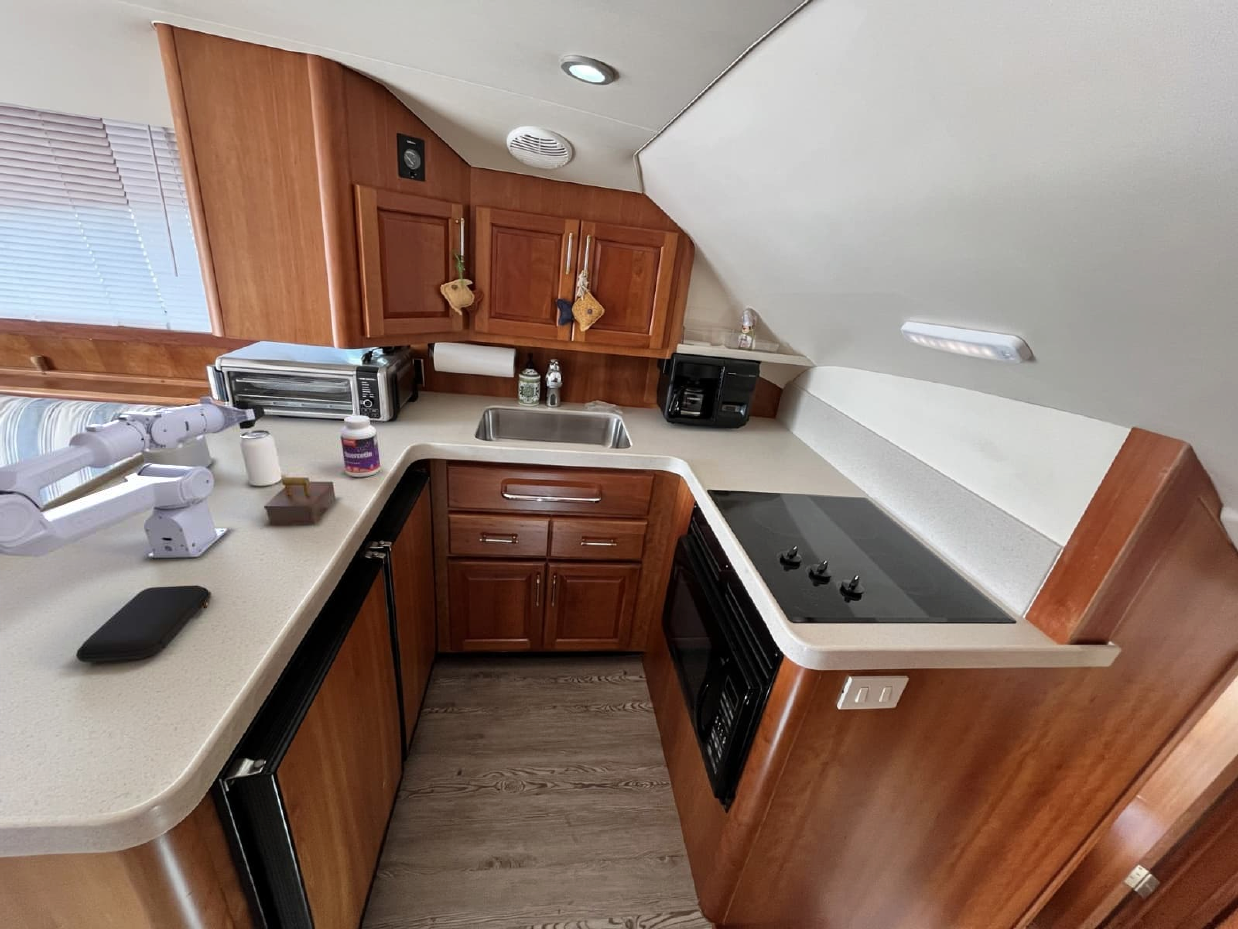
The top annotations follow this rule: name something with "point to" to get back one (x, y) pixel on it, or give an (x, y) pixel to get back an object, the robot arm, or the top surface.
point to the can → (260, 458)
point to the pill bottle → (360, 447)
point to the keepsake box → (302, 511)
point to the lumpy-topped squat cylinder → (181, 453)
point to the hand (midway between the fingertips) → (244, 411)
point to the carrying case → (144, 624)
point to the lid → (298, 494)
